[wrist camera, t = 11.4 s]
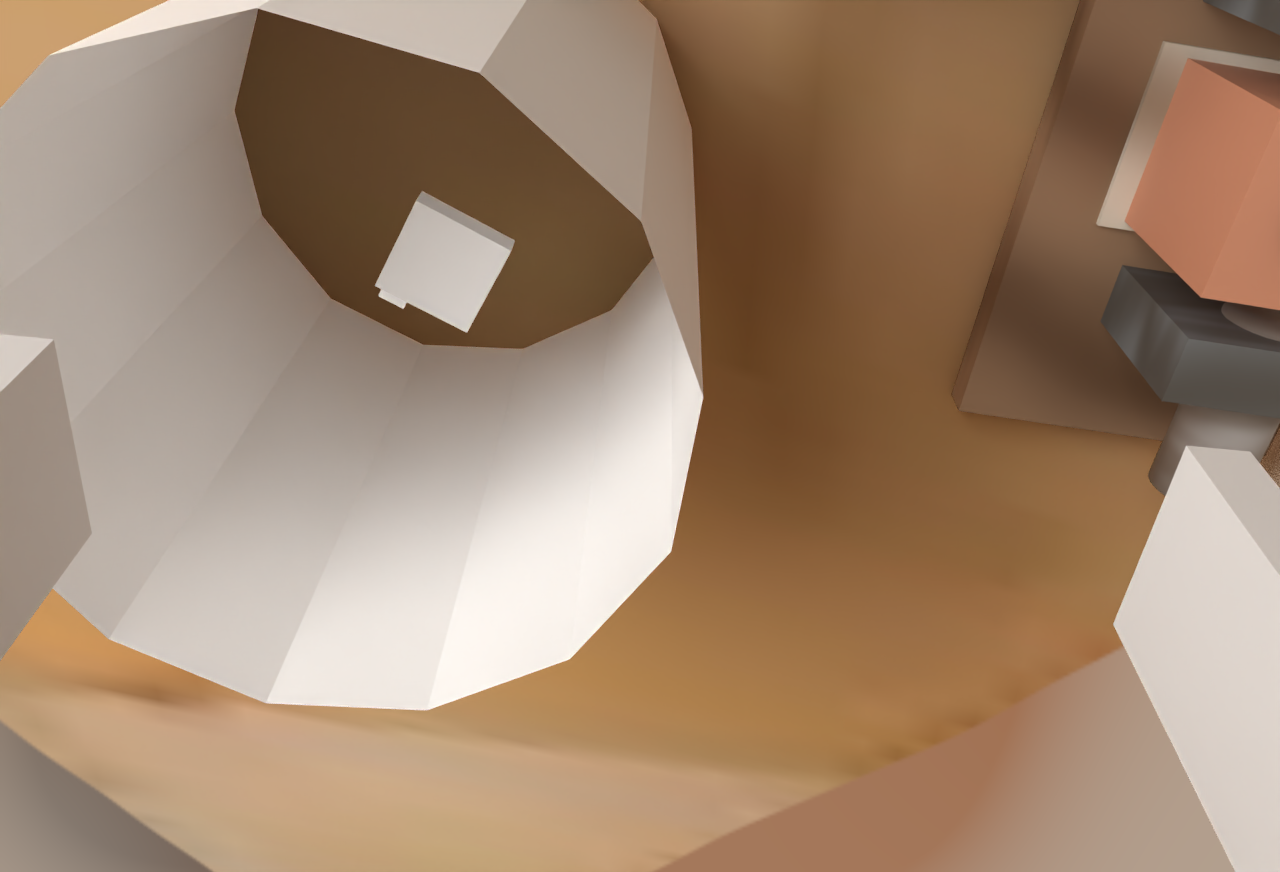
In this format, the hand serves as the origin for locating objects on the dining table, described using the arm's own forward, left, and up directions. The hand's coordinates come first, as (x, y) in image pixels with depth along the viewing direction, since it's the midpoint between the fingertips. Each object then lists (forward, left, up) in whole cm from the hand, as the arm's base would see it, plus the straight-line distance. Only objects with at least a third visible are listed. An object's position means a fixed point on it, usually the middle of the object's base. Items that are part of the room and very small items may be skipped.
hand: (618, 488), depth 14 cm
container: (+4, -5, -25) cm, 26 cm away
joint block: (0, +18, -23) cm, 29 cm away
